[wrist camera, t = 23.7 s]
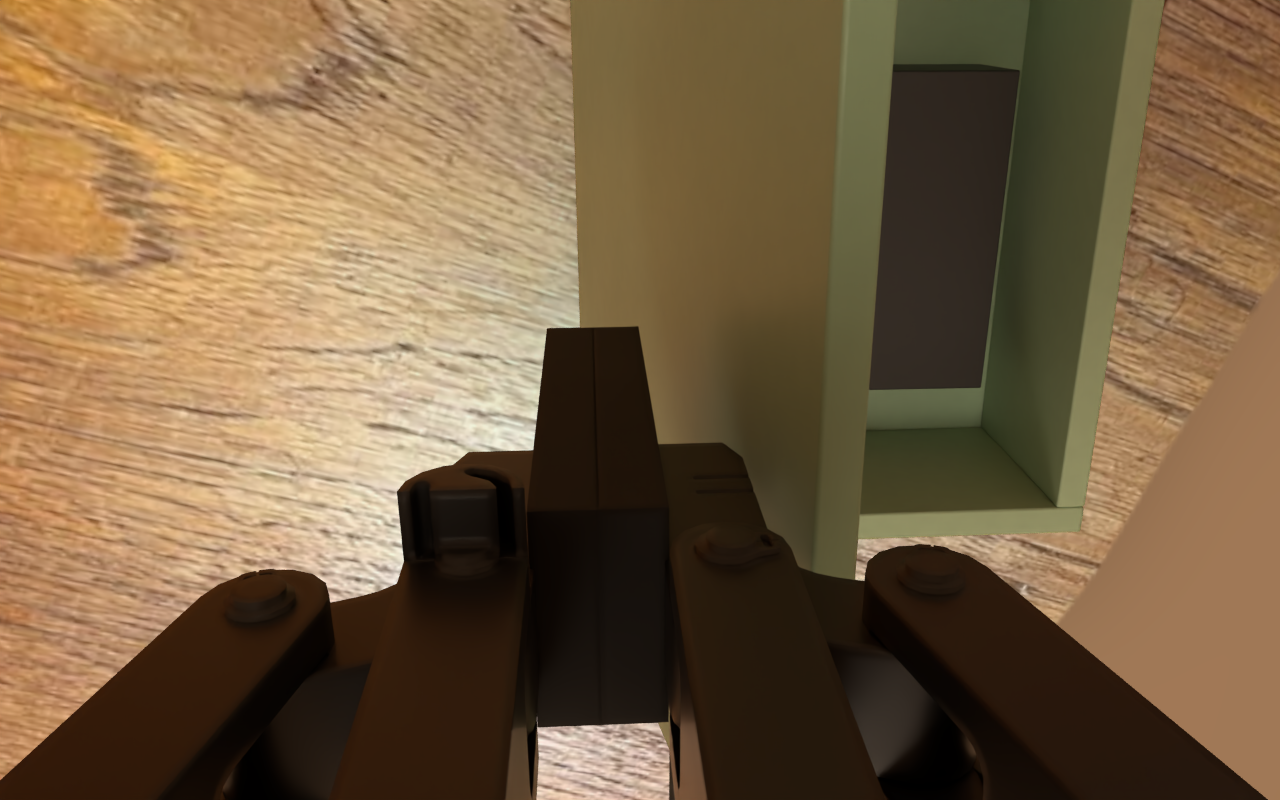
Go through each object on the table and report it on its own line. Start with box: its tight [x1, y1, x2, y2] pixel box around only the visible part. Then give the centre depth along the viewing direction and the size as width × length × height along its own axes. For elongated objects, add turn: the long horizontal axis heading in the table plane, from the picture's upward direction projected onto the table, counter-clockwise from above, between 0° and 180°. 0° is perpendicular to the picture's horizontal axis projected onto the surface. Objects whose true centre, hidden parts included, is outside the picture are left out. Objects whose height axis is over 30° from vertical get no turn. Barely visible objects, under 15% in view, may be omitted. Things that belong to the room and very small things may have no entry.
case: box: [858, 0, 1165, 539], centre depth 29 cm, size 14×16×7 cm
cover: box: [570, 0, 898, 749], centre depth 19 cm, size 14×16×1 cm
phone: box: [869, 64, 1020, 390], centre depth 31 cm, size 6×9×3 cm, turn 0°
